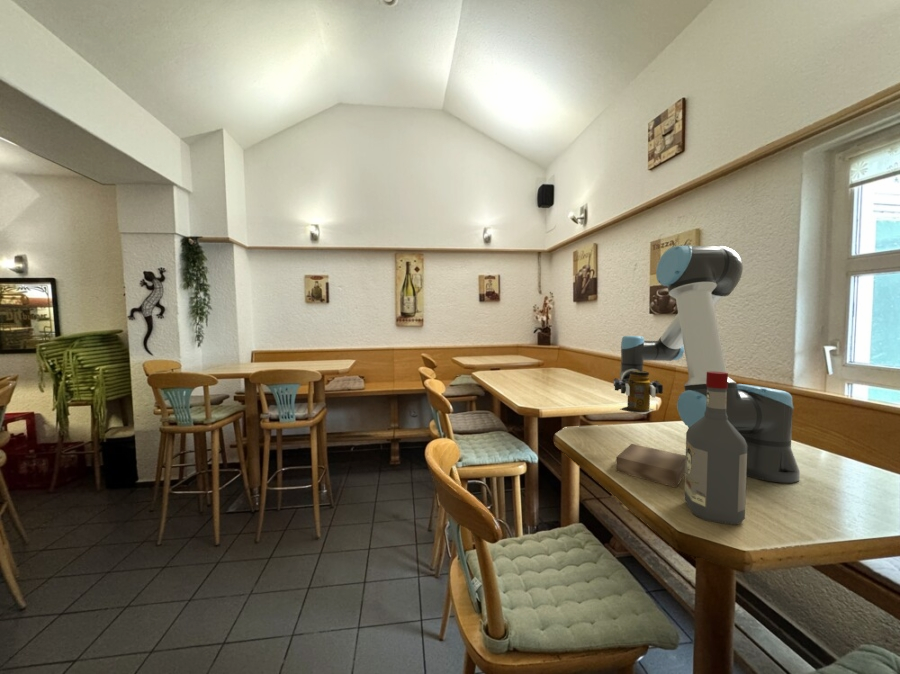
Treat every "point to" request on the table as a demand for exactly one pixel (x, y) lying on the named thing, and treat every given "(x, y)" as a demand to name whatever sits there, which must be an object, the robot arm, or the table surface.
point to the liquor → (716, 460)
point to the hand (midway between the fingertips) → (640, 392)
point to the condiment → (639, 393)
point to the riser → (652, 464)
